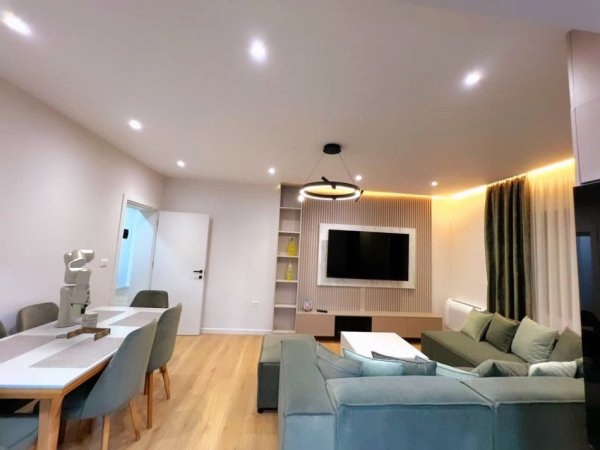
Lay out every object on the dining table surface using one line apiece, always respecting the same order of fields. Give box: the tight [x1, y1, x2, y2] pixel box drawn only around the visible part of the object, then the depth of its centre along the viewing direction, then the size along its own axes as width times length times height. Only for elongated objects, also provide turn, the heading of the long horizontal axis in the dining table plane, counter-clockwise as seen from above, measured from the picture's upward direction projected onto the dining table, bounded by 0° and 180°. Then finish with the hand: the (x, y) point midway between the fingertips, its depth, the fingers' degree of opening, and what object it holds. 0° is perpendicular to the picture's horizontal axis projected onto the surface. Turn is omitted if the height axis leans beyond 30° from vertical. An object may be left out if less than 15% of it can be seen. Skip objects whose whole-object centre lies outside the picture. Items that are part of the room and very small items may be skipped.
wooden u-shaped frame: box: [66, 327, 112, 341], centre depth 201 cm, size 15×20×4 cm
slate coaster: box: [55, 333, 67, 339], centre depth 198 cm, size 8×8×1 cm
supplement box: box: [80, 311, 99, 328], centre depth 217 cm, size 7×7×13 cm
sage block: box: [72, 304, 86, 319], centre depth 191 cm, size 5×5×9 cm
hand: (78, 313), depth 191 cm, fingers closed on sage block, 5 cm apart
